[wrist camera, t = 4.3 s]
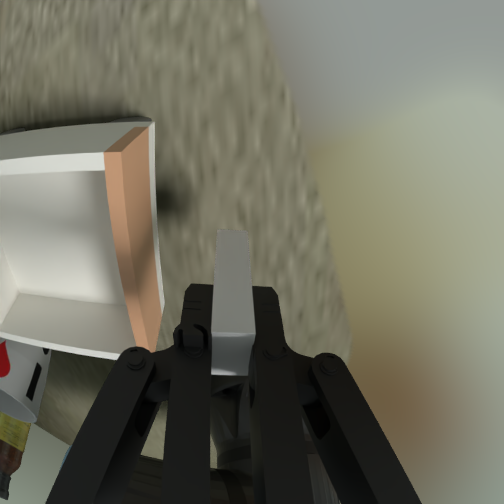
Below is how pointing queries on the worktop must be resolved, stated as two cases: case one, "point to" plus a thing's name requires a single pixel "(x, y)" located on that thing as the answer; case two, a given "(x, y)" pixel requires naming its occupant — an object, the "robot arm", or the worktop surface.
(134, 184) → the white open box
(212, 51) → the worktop surface
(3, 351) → the cup
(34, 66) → the worktop surface
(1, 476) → the sauce bottle
